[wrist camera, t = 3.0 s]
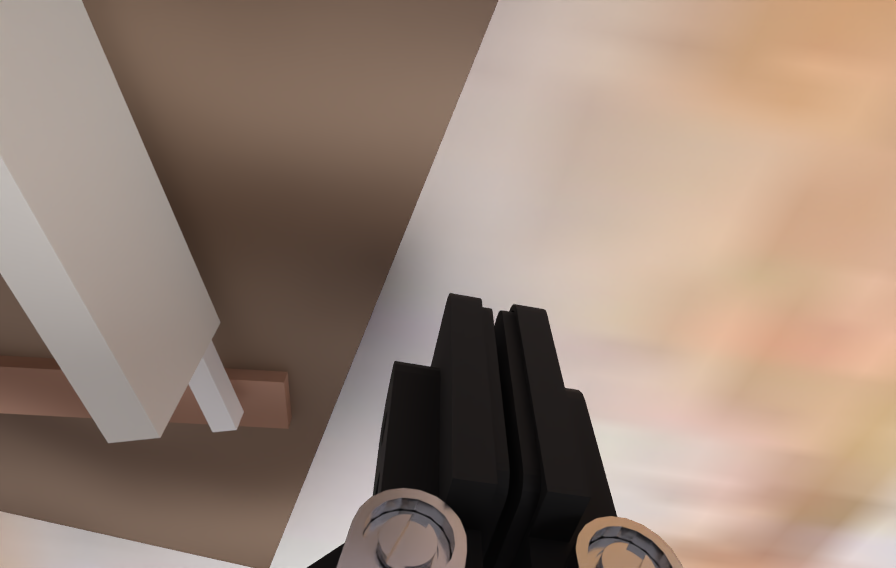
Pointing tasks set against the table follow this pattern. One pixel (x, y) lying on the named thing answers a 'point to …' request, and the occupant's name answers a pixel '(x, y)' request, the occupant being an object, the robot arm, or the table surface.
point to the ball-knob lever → (97, 233)
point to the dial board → (247, 250)
